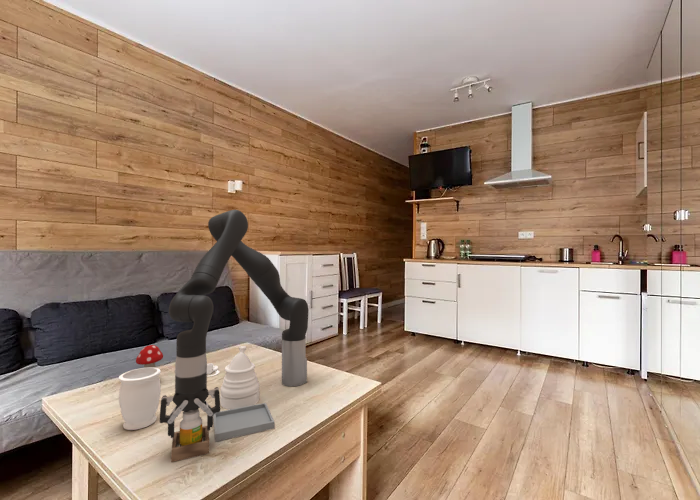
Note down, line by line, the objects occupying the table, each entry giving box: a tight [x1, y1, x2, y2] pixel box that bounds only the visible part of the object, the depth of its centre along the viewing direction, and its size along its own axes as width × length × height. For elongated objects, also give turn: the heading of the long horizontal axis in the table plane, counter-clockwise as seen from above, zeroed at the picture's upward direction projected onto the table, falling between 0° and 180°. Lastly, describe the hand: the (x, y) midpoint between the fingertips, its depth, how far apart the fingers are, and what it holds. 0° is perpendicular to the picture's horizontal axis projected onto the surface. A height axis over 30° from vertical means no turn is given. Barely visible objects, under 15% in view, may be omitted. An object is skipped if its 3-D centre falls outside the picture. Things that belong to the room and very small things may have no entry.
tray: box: [213, 402, 275, 443], centre depth 99 cm, size 16×13×2 cm
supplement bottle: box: [179, 408, 203, 447], centre depth 87 cm, size 5×5×10 cm
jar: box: [118, 367, 162, 431], centre depth 99 cm, size 11×10×15 cm
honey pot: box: [219, 345, 261, 410], centre depth 114 cm, size 13×13×18 cm
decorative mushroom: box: [135, 344, 164, 368], centre depth 127 cm, size 10×9×15 cm
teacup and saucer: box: [207, 362, 220, 378], centre depth 139 cm, size 9×8×4 cm
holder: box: [170, 425, 210, 463], centre depth 87 cm, size 9×9×3 cm
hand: (190, 432), depth 87 cm, fingers open, 8 cm apart
